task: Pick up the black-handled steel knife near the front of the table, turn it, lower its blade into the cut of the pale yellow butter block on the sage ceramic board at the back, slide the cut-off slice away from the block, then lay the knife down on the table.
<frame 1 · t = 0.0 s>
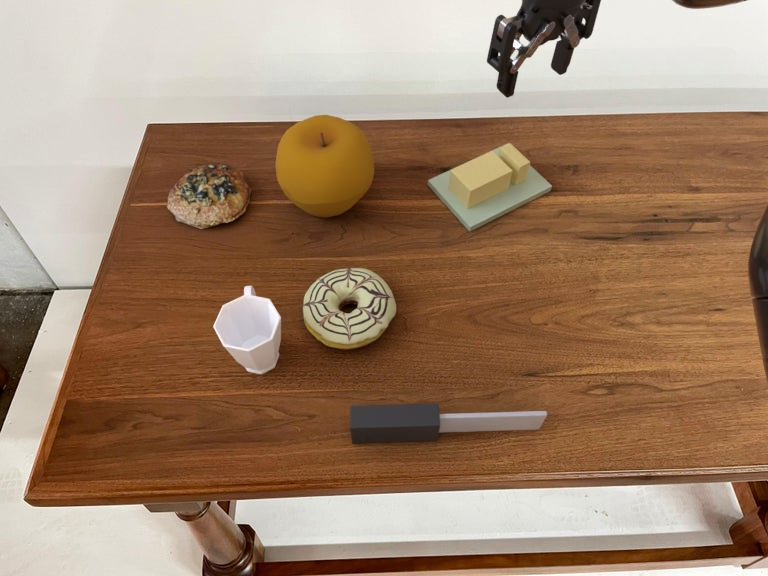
hand: (532, 81, 76), 14 cm above the table, tool pointing down, fingers open, 8 cm apart
cup: (260, 347, 70), on the table
apple: (329, 199, 83), on the table
butter board: (488, 188, 84), on the table
decorated donut: (350, 317, 72), on the table
knife: (394, 431, 64), on the table
butter slice: (510, 173, 84), point 1 cm above the table, touching butter board
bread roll: (212, 203, 83), on the table
butter block: (478, 188, 83), point 1 cm above the table, touching butter board
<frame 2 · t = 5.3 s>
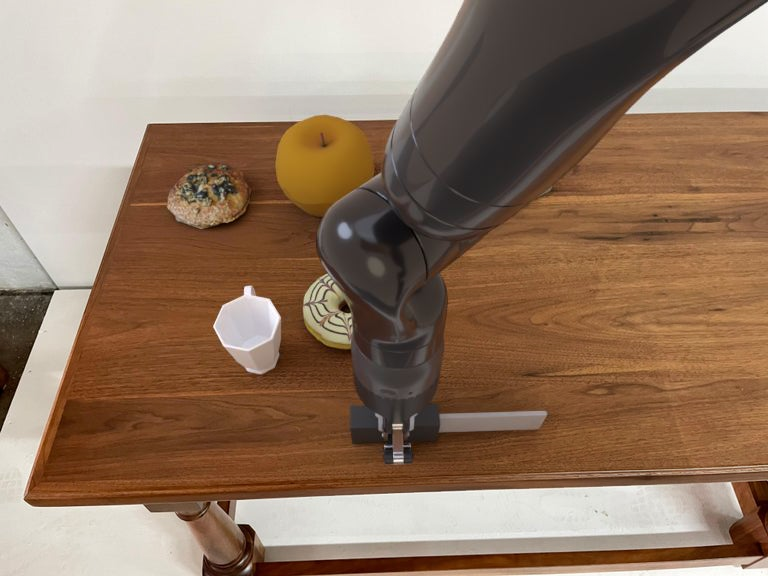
hand: (394, 431, 64), 0 cm above the table, tool pointing down, fingers closed on knife, 2 cm apart
knife: (394, 431, 64), on the table, touching gripper
everything else where it was.
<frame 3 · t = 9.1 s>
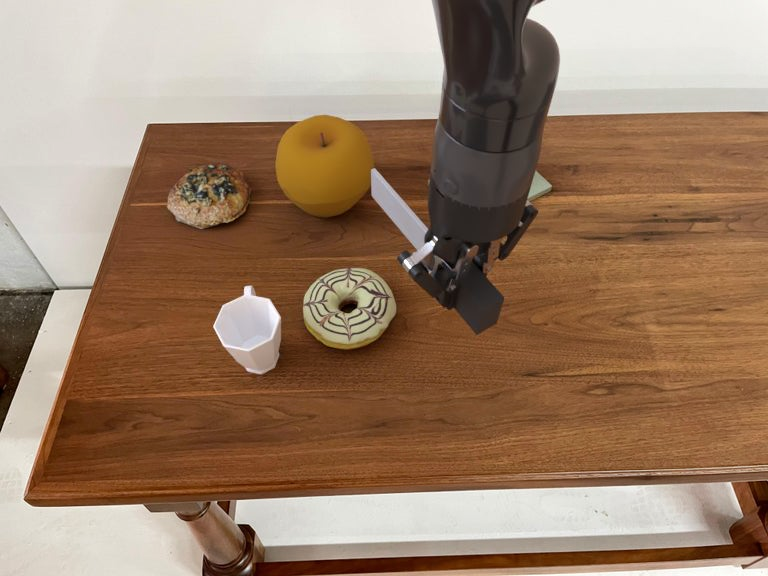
hand: (458, 294, 58), 13 cm above the table, tool pointing down, fingers closed on knife, 2 cm apart
knife: (458, 295, 58), point 13 cm above the table, touching gripper
everything else where it was.
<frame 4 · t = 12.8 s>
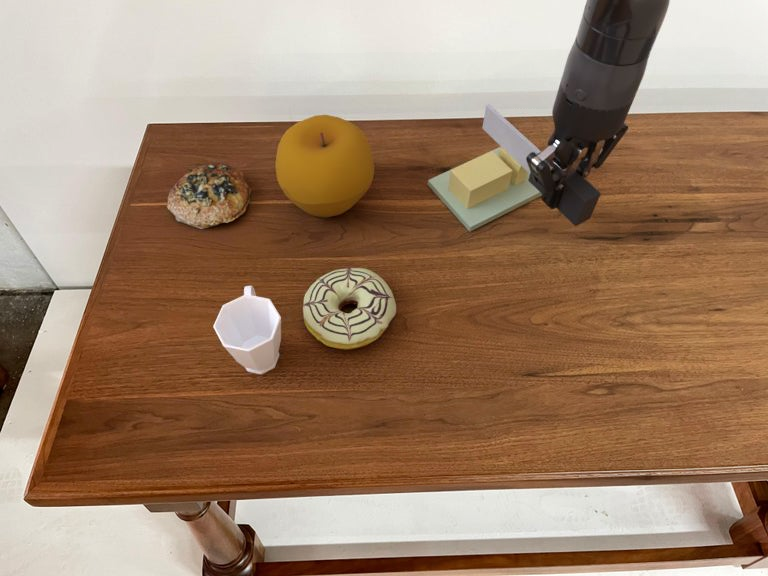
hand: (558, 199, 75), 6 cm above the table, tool pointing down, fingers closed on knife, 2 cm apart
knife: (558, 199, 75), point 6 cm above the table, touching gripper
everything else where it was.
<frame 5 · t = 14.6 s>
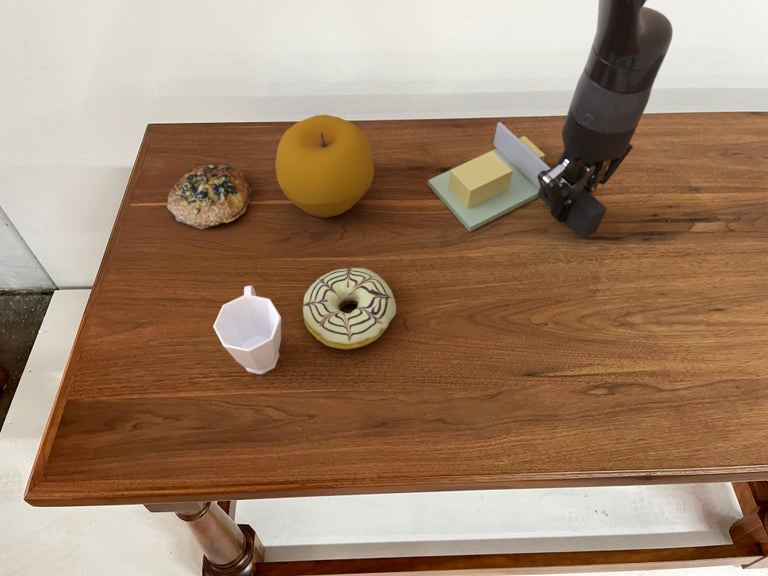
hand: (566, 212, 80), 1 cm above the table, tool pointing down, fingers closed on knife, 2 cm apart
knife: (566, 213, 80), point 1 cm above the table, touching butter slice, gripper
butter slice: (524, 166, 85), point 1 cm above the table, touching butter board, knife
everything else where it was.
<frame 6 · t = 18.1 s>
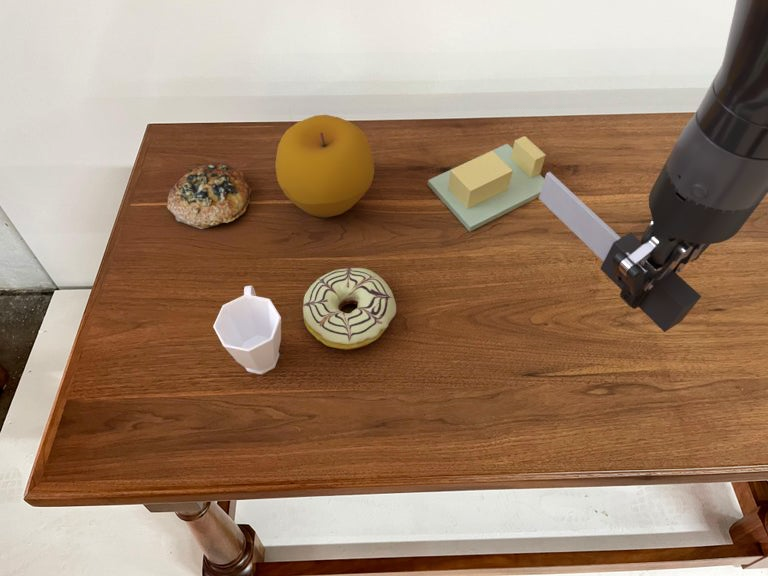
hand: (640, 294, 61), 11 cm above the table, tool pointing down, fingers closed on knife, 2 cm apart
knife: (639, 294, 61), point 11 cm above the table, touching gripper
butter slice: (525, 166, 85), point 1 cm above the table, touching butter board
everything else where it was.
when the fingers open (0 cm above the table, at t = 20.8 s): knife stays where it is, on the table.
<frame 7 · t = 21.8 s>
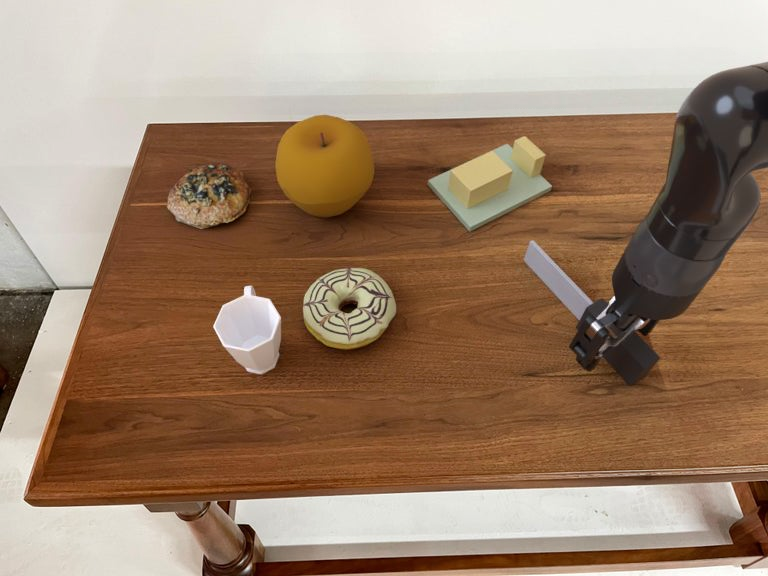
hand: (612, 346, 68), 2 cm above the table, tool pointing down, fingers open, 8 cm apart
knife: (609, 351, 70), on the table
everything else where it was.
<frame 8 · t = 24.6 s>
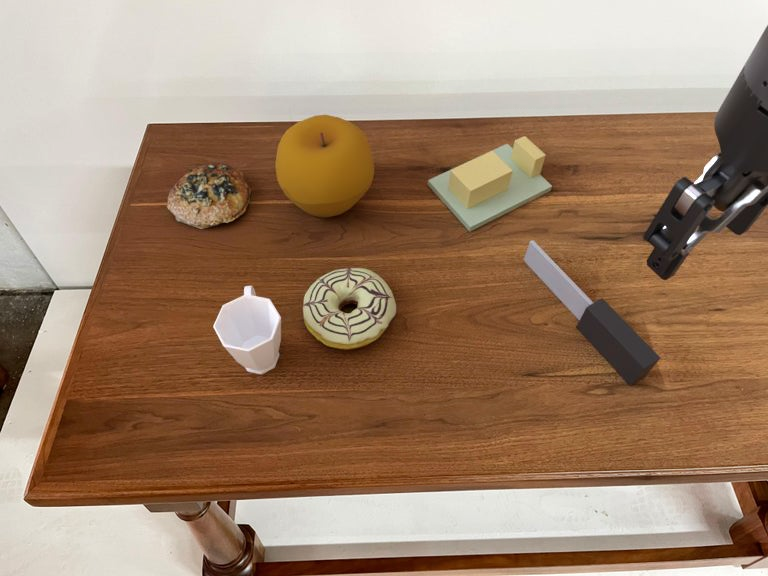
hand: (695, 248, 49), 23 cm above the table, tool pointing down, fingers open, 8 cm apart
nothing on the table moved.
at the end: butter slice moved 2.7 cm from its start; butter block moved 0.0 cm from its start; the gripper is holding nothing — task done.
